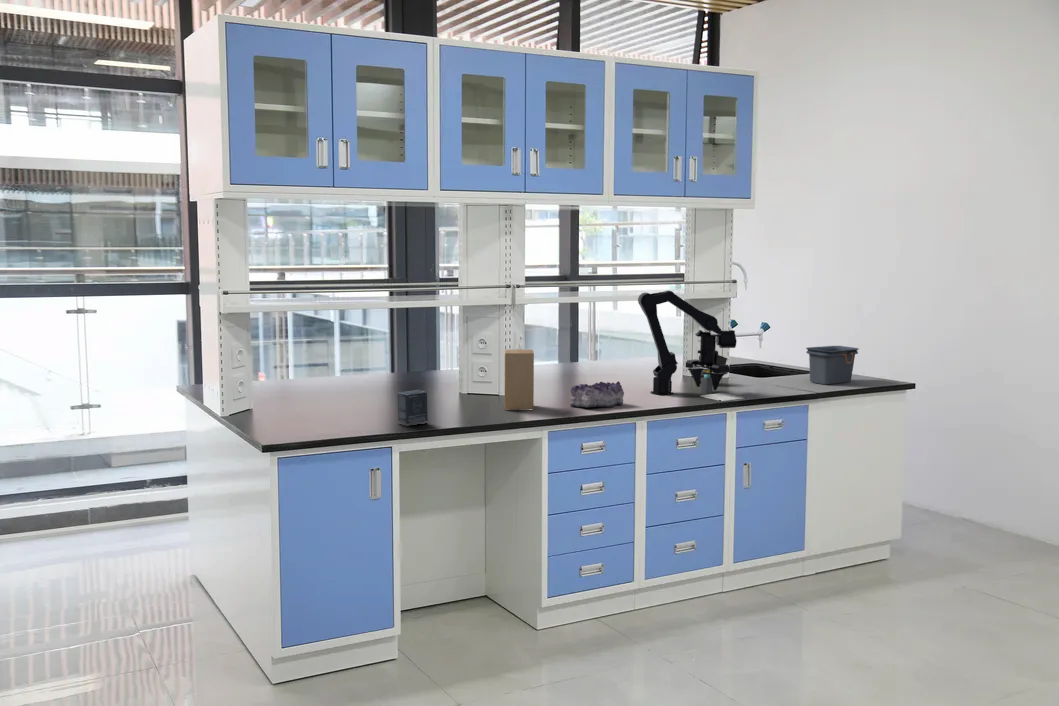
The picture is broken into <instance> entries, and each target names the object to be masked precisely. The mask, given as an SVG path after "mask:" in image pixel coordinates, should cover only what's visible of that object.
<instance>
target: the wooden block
mask: <svg viewBox="0 0 1059 706" xmlns="http://www.w3.org/2000/svg"><path fill="white" fill-rule="evenodd" d="M534 360H535V355H534V350H533V349H505V350H504V410H505V409H510V410H509V411H513V410H512V409H533V410H534V403H535V402H534V400H535V399H534V396H535V395H534V393H535V392H534V391H535V390H534V389H535V387H534V380H535V378H534V377H535V376H534V375H535V373H534V372H535V369H534V366H535V365H534V364H535V361H534Z"/></svg>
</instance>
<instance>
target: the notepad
mask: <svg viewBox="0 0 1059 706" xmlns="http://www.w3.org/2000/svg"><path fill="white" fill-rule="evenodd" d="M700 397H702V398H706V399H710V400H711V399H712V400H714V401H715V400H716V401H719V400H721V401H720V402H728V401H735V400H744V399H745V396H741V395H735V394H731V393H726V392H719V393H712V394H701V395H700Z"/></svg>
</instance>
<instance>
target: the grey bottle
mask: <svg viewBox="0 0 1059 706" xmlns="http://www.w3.org/2000/svg"><path fill="white" fill-rule="evenodd" d="M700 394H701V395H709V394H713V384H712V378H710V375H707V374H706V375H704V378H701V385H700Z"/></svg>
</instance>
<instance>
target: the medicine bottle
mask: <svg viewBox="0 0 1059 706" xmlns="http://www.w3.org/2000/svg"><path fill="white" fill-rule="evenodd" d="M698 360H700V355H699V356H698ZM705 366H706V365H705ZM700 368H701V367H700ZM711 373H714V372H712V370H711V369H706V368H704V369H703V370H702V372H701V378H704V375H706V374H707V375H710V378H711ZM694 385H696V383H695V382H694ZM700 386H701V381H700Z"/></svg>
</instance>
